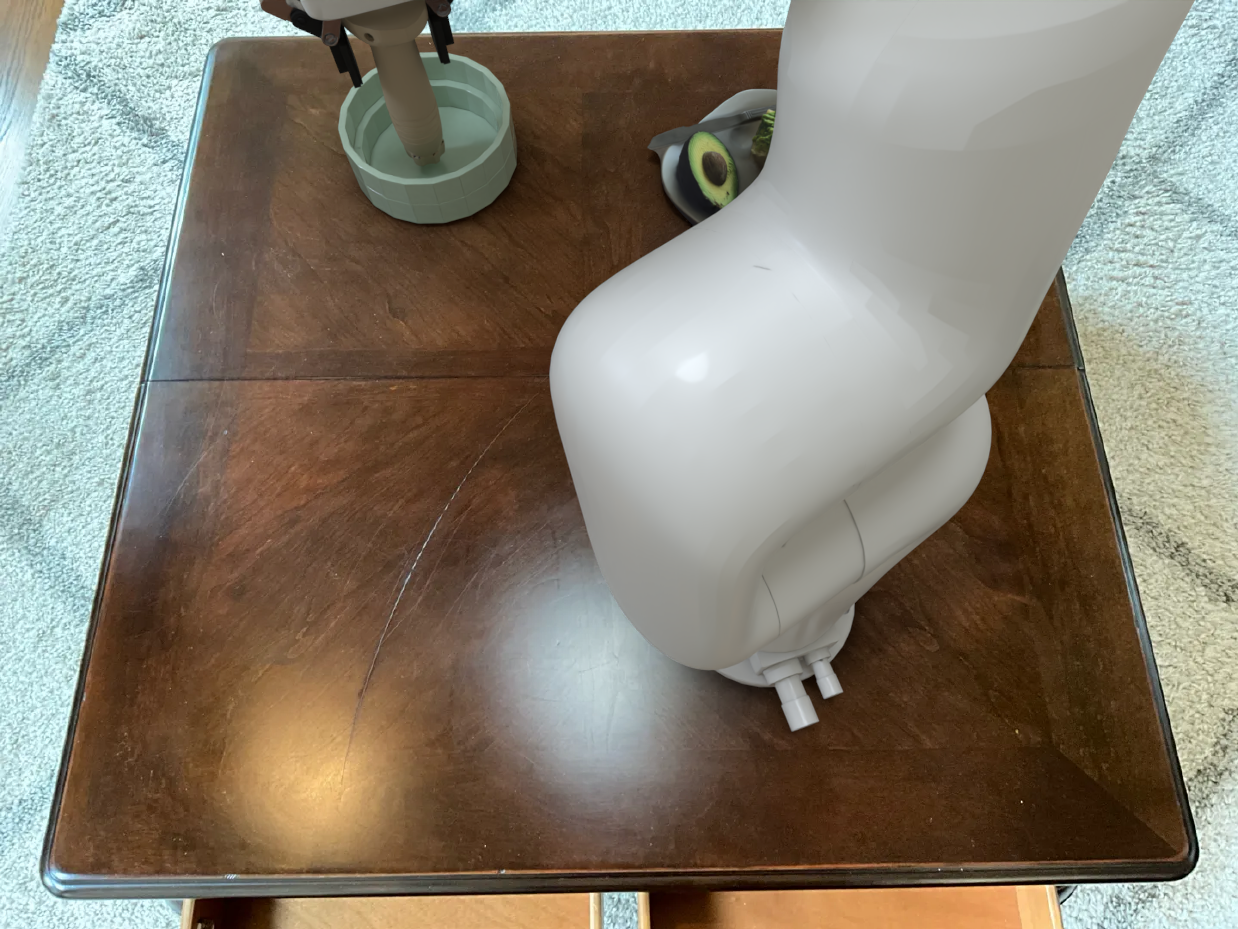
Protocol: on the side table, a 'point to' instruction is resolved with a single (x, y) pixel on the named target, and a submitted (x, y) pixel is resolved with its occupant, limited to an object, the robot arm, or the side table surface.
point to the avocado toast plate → (717, 154)
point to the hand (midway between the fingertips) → (398, 61)
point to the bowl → (469, 130)
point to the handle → (403, 75)
